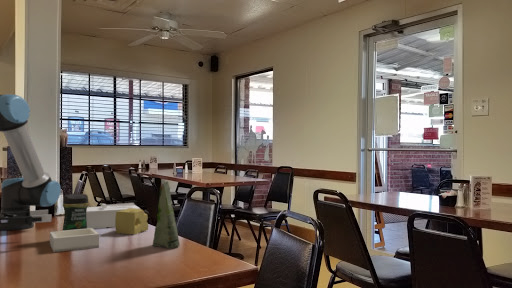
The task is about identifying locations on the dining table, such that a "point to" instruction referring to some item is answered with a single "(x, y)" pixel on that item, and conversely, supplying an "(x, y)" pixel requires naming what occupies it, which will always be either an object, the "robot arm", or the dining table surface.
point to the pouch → (165, 221)
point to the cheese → (131, 221)
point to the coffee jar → (75, 211)
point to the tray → (74, 239)
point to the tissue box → (105, 214)
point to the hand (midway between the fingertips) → (49, 215)
